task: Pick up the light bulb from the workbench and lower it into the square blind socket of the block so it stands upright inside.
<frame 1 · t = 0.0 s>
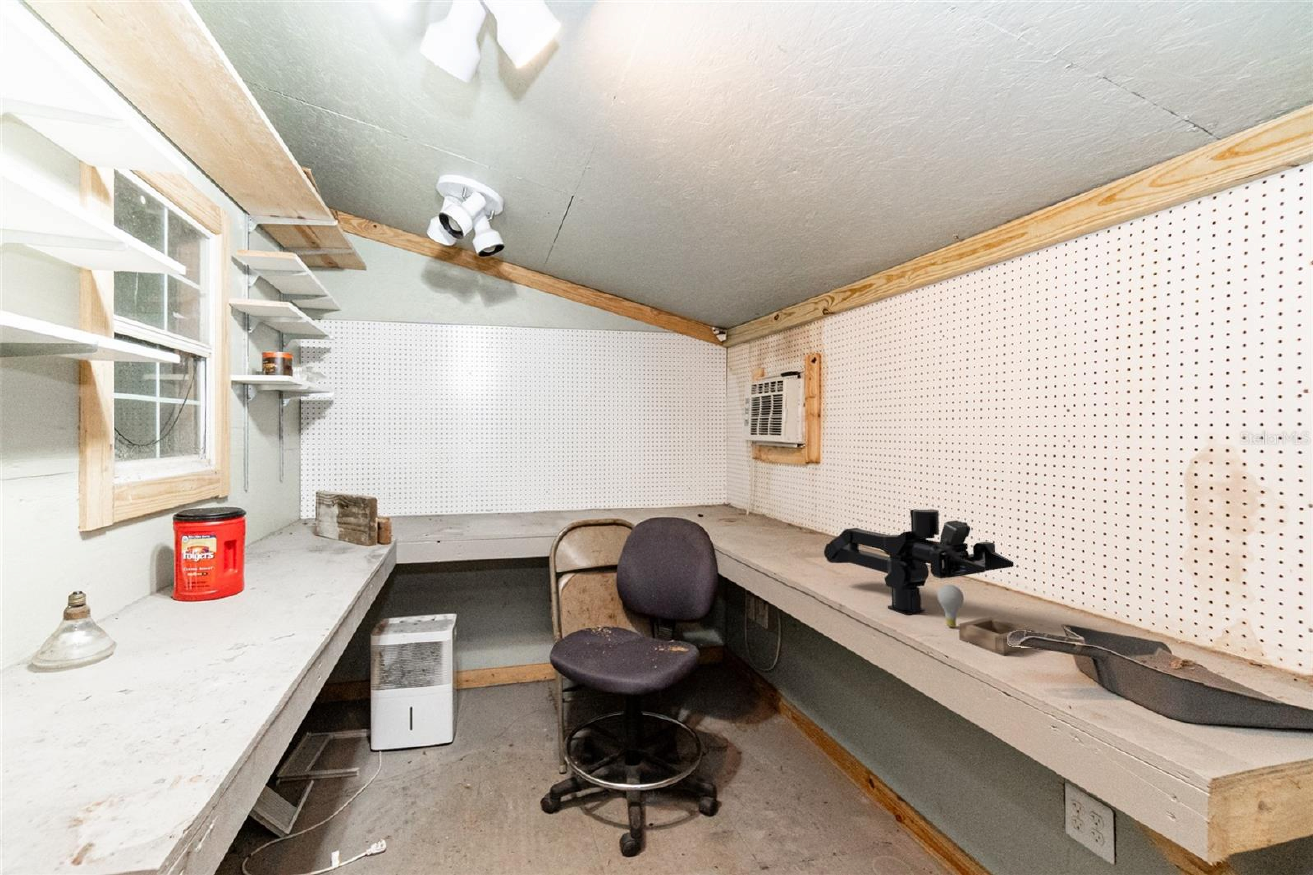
hand: (999, 567, 119), 17 cm above the worktop, tool horizontal, fingers open, 9 cm apart
light bulb: (951, 628, 129), on the worktop
socket block: (996, 643, 119), on the worktop
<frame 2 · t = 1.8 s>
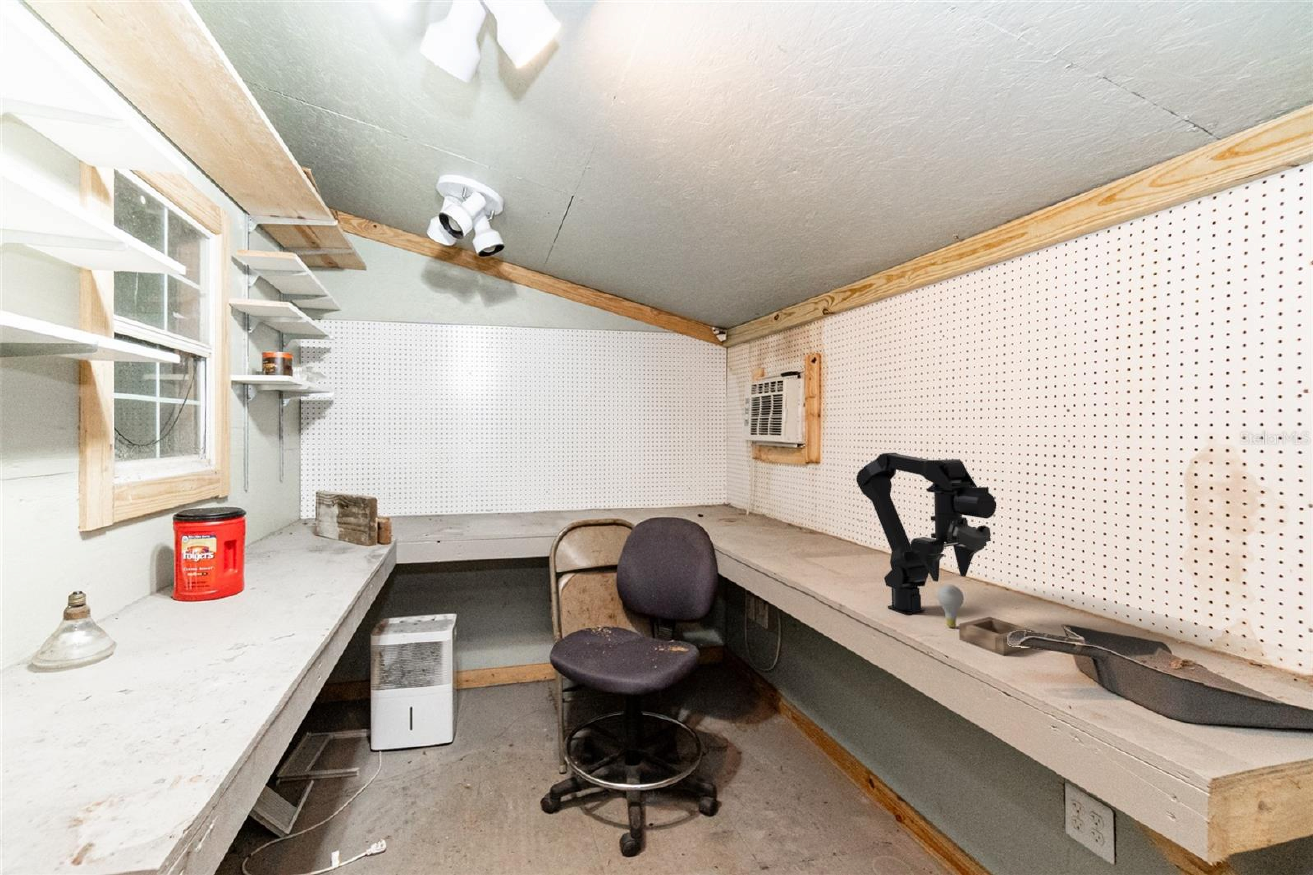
hand: (949, 578, 129), 11 cm above the worktop, tool pointing down, fingers open, 9 cm apart
nothing on the worktop moved.
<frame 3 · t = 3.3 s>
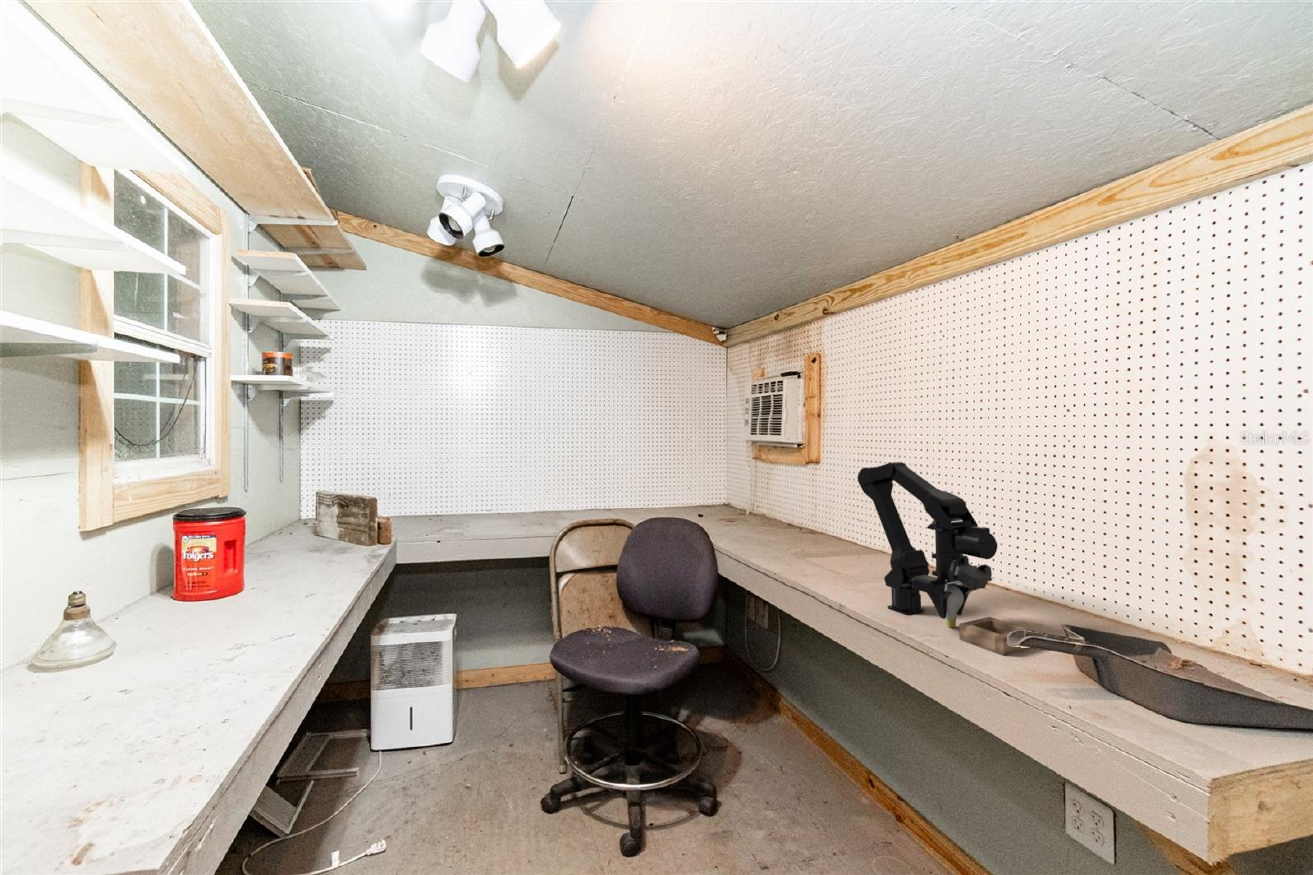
hand: (950, 616, 129), 3 cm above the worktop, tool pointing down, fingers closed on light bulb, 5 cm apart
light bulb: (951, 628, 129), on the worktop, touching gripper
when the fingers open (5 cm above the worktop, at t = 6.9 s): light bulb drops 1 cm, resting on socket block.
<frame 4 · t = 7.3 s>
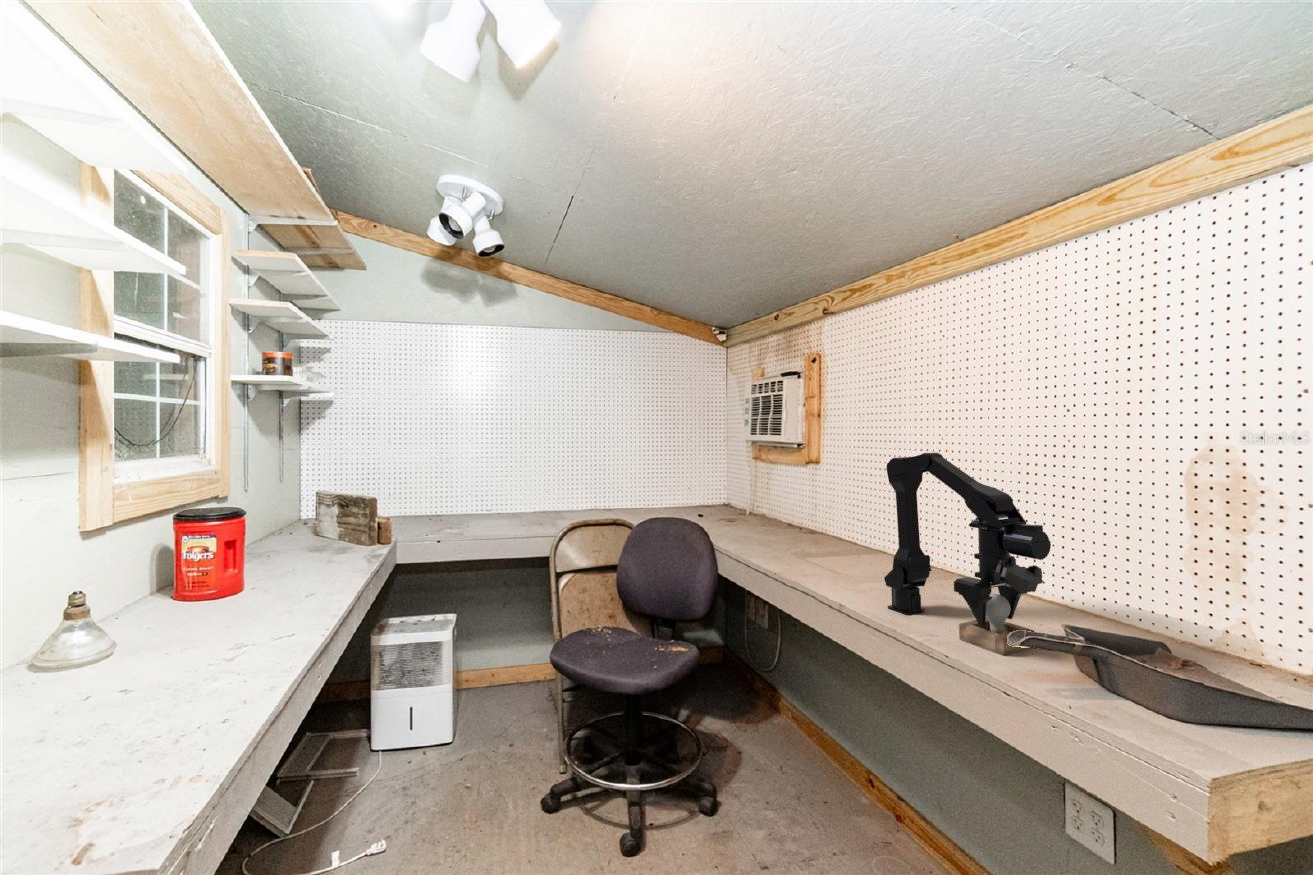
hand: (995, 622, 119), 5 cm above the worktop, tool pointing down, fingers open, 9 cm apart
light bulb: (996, 640, 119), resting on socket block
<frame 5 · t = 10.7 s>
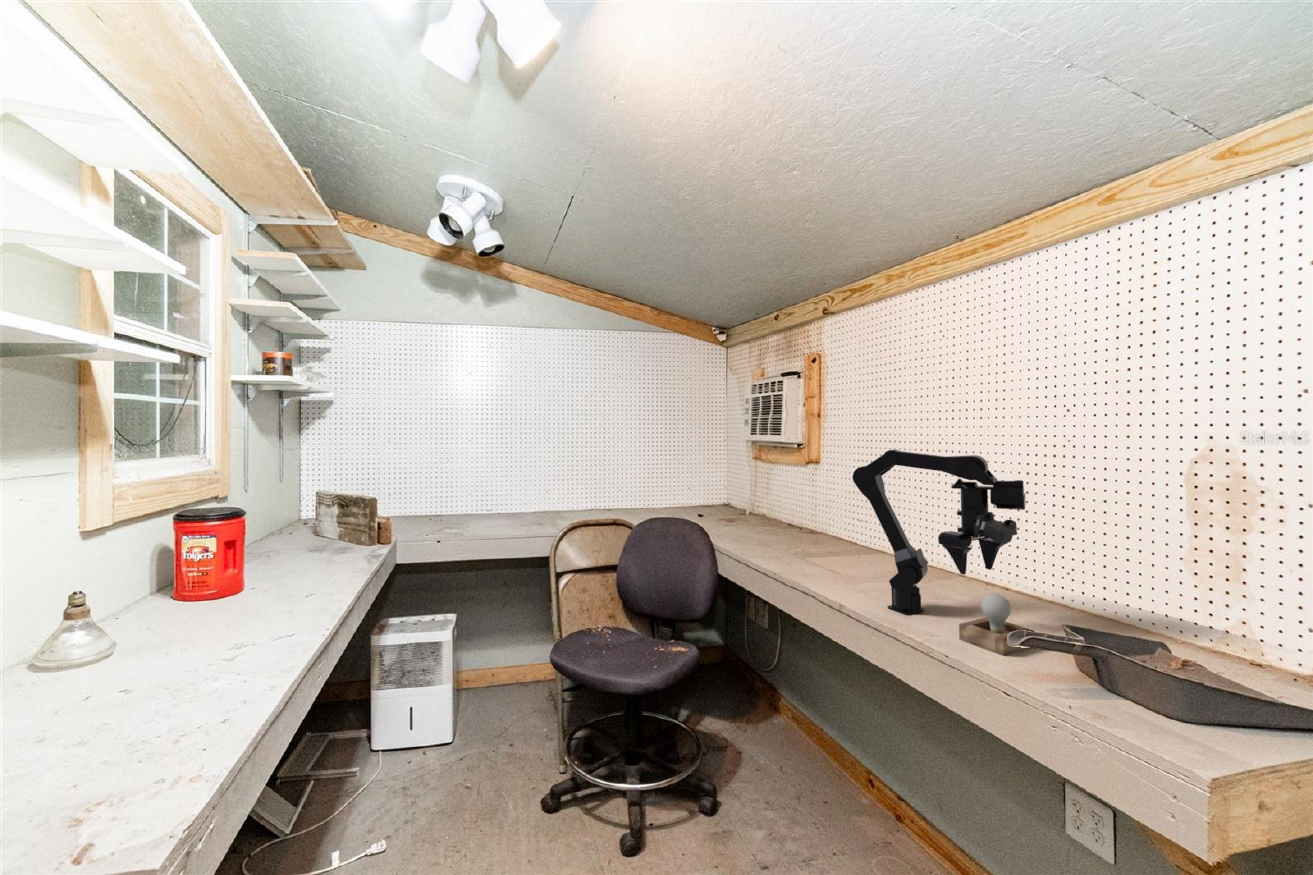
hand: (976, 571, 132), 12 cm above the worktop, tool pointing down, fingers open, 9 cm apart
nothing on the worktop moved.
at the end: light bulb 0.2 cm off-centre on the socket block, point 0.4 cm above the socket block's base; light bulb tilted 0°; the gripper is holding nothing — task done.
